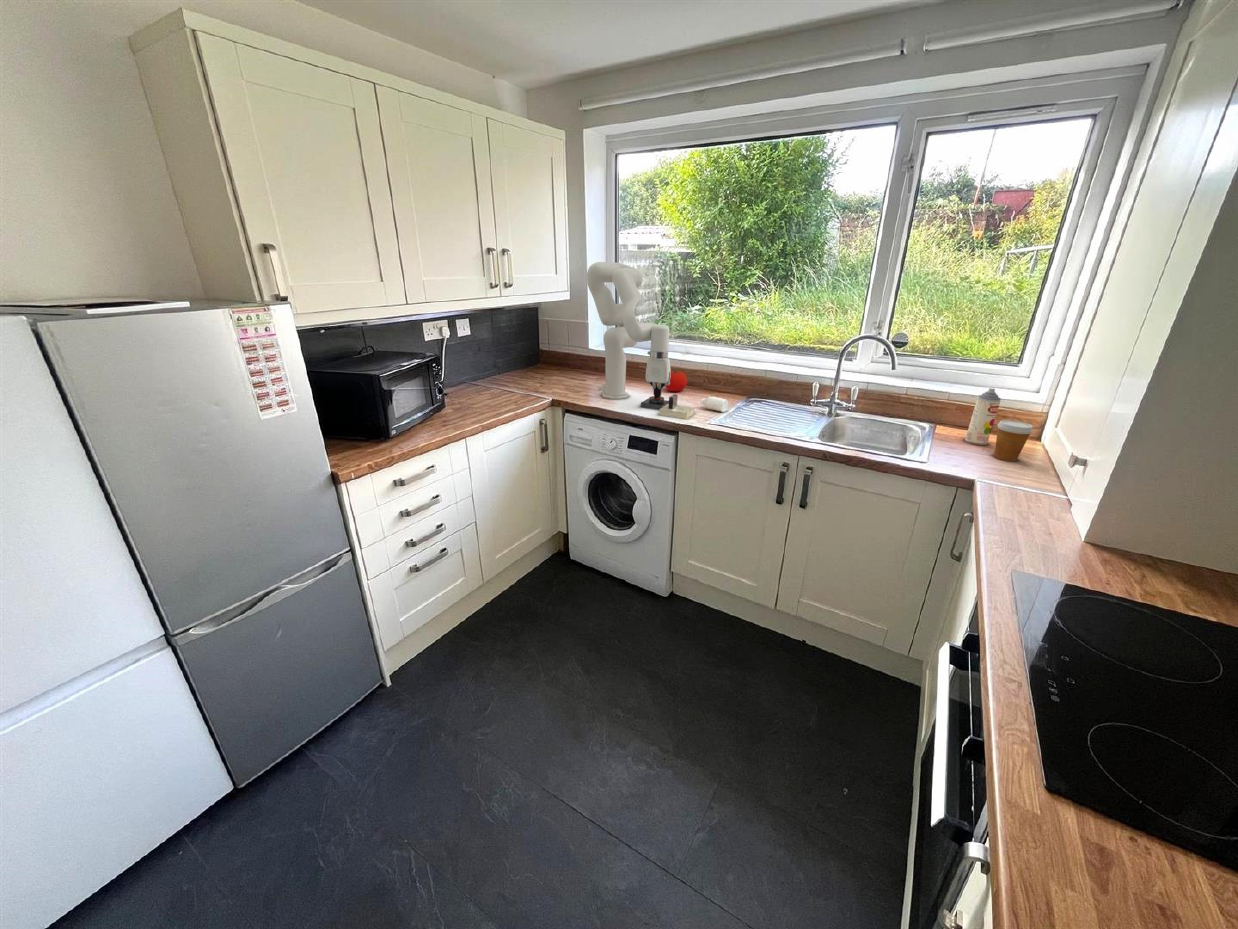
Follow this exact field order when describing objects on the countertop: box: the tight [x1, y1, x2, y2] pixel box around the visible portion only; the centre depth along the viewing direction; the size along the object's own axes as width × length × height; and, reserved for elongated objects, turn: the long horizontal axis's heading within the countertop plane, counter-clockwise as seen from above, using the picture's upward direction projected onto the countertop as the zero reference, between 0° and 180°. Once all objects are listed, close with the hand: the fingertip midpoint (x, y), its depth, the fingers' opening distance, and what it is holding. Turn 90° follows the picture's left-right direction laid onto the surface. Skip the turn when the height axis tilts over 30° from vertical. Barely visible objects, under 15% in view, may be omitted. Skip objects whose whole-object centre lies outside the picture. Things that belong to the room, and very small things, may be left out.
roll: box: [699, 396, 729, 413], centre depth 216 cm, size 6×12×6 cm, turn 51°
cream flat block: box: [658, 404, 696, 420], centre depth 209 cm, size 13×10×3 cm
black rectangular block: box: [668, 393, 679, 409], centre depth 208 cm, size 6×2×5 cm, turn 154°
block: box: [640, 395, 669, 411], centre depth 219 cm, size 11×9×4 cm
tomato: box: [665, 369, 688, 393], centre depth 247 cm, size 12×12×10 cm
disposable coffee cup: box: [993, 419, 1034, 462], centre depth 165 cm, size 10×10×12 cm
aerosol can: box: [964, 387, 1001, 446], centre depth 179 cm, size 7×7×20 cm
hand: (657, 397), depth 218 cm, fingers closed
